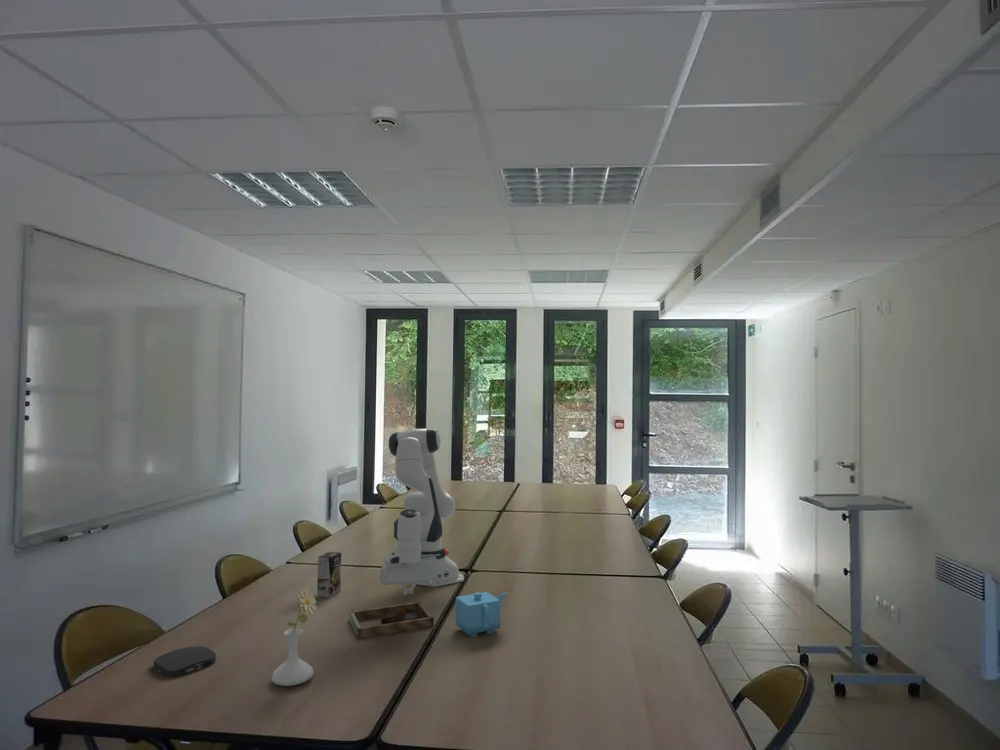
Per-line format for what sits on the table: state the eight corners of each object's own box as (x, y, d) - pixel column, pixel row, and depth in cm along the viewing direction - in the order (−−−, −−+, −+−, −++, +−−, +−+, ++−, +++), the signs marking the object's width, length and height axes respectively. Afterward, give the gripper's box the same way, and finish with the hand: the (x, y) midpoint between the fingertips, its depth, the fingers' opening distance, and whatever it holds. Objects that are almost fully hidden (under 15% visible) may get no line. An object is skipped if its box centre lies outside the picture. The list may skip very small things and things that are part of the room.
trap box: (419, 609, 227) (419, 601, 227) (433, 626, 210) (433, 617, 211) (349, 620, 217) (349, 611, 217) (358, 638, 200) (358, 629, 200)
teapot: (471, 642, 197) (471, 602, 197) (452, 626, 210) (452, 589, 211) (518, 632, 205) (518, 594, 205) (498, 617, 219) (497, 582, 219)
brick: (395, 619, 218) (395, 606, 218) (405, 620, 217) (405, 607, 217) (380, 629, 208) (380, 616, 208) (390, 631, 207) (390, 617, 207)
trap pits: (416, 612, 225) (416, 611, 225) (427, 625, 212) (427, 623, 212) (401, 614, 222) (401, 613, 222) (410, 627, 210) (410, 626, 210)
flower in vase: (289, 694, 162) (290, 601, 163) (262, 683, 168) (263, 594, 169) (326, 675, 173) (327, 588, 174) (300, 666, 179) (301, 582, 180)
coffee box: (331, 597, 242) (331, 557, 242) (316, 596, 243) (317, 556, 244) (341, 590, 251) (341, 552, 251) (327, 589, 252) (327, 551, 253)
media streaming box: (198, 651, 191) (198, 641, 191) (220, 663, 182) (220, 653, 182) (149, 667, 180) (149, 657, 180) (169, 681, 170) (169, 670, 171)
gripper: (433, 551, 224) (433, 588, 223) (379, 556, 216) (378, 594, 215) (438, 555, 218) (438, 593, 218) (383, 560, 211) (382, 600, 210)
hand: (408, 594), depth 216 cm, fingers closed
